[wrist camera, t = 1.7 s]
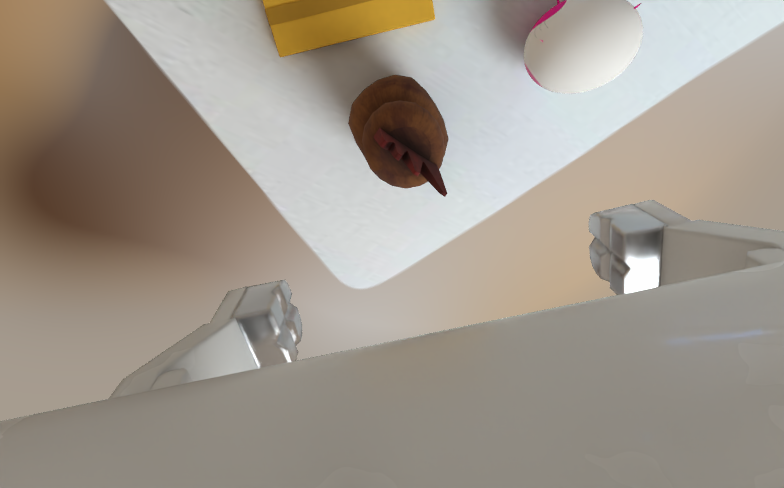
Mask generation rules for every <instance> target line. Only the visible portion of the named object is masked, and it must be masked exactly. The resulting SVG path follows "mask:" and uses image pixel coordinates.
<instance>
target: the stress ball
mask: <svg viewBox="0 0 784 488" xmlns="http://www.w3.org/2000/svg"><path fill="white" fill-rule="evenodd" d="M640 4H641V3H640ZM640 4H639V5H640ZM639 5H637V6H636V7H634V6H633V5H632V4H631V3H629V2H628V1H627V0H565V1H563V2H561V3H559V0H557V5H556V6H554V7H553V8H551V9H550V10H549V11H547V12H546V13H545V14H544V15H543V16H542V17H541V18H540V19H539V20H538V21H537V23H536V24H535V25H534V27H533V28H532V30H531V31H530V33H529V35H528V38H527V40H526V43H525V48H524V63H525V67H526V70H527V72H528V74H529V75H530V77H531V78H532V79H533V80H534V81H535V82H536V83H537V84H538V85H540V86H541V87H543V88H545V89H547V90H549V91H552V92H556V93H563V94H574V93H582V92H587V91H590V90H593V89H596V88H598V87H601V86H603V85H605V84H607V83H608V82H610V81H612V80H613V79H614V78H616V77H617V76H618V75H620V74H621V73H622V72H623V71H624V70H625V69H626V68H627V67H628V66H629V65H630V63H631V62H632V61H633V59H634V58H635V56H636V54H637V52H638V50H639V48H640V45H641V42H642V36H643V25H642V21H641V18H640V15H639V13H638V12H637V10H636V8H637V7H638V6H639Z"/></svg>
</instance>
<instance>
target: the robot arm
mask: <svg viewBox="0 0 784 488" xmlns="http://www.w3.org/2000/svg"><path fill="white" fill-rule="evenodd" d="M589 231H590V232H591V233H592V234H593V235H594V236H595V238H594V240H593V241H592V243H591V244H590V246H589V249H590V259H591V262H592V266H593V268H594V270H595V272H596V274H597V275H598V276H599V277H600V278H601V279H603V280H606V281H609V282H610V288H611V289H612V290H613V291H614V292H615V293H616V294H617V295H616V296H610V297H606V298H601V299H596V300H591V301H586V302H581V303H577V304H571V305H567V306H562V307H557V308H552V309H547V310H542V311H537V312H532V313H527V314H522V315H517V316H513V317H508V318H503V319H498V320H493V321H488V322H483V323H479V324H473V325H468V326H464V327H459V328H454V329H449V330H444V331H439V332H435V333H429V334H424V335H419V336H415V337H410V338H405V339H400V340H395V341H390V342H385V343H380V344H375V345H370V346H365V347H361V348H356V349H351V350H346V351H341V352H336V353H331V354H326V355H321V356H316V357H312V358H307V359H302V360H297V361H296V359H297V355H298V350H297V348H296V345H297V344H298V343H299V342H300V341H301V337H302V323H301V318H300V314H299V312H298V309H297V307H295V306H294V305H293V304H291V303H290V299H291V295H292V293H291V290H290V288H289V285H288V283H287V282H286V281H285V280H280V281H275V282H270V283H265V284H260V285H255V286H250V287H243V288H239V289H235V290H231V291H228V293H227V294H226V296H225V298H224V300H223V301H222V303H221V305H220V306H219V308H218V310H217V311H216V313H215V315H214V316H213V318H212V320H211V322H210V323H208V324H204V325H202V326H201V327H199V328H198V329H196V330H195V331H193V332H192V333H190V334H189V335H187V336H186V337H185V338H183V339H182V340H180V341H179V342H177V343H176V344H174V345H173V346H171V347H170V348H168V349H167V350H165V351H164V352H162V353H161V354H160V355H158V356H157V357H155V358H154V359H152V360H151V361H149V362H148V363H146V364H145V365H143V366H142V367H140V368H139V369H137V370H136V371H134V372H133V373H132V374H130V375H129V376H127V377H126V378H124V379H123V380H122V381H121V383H120V384H119V385H118V387H117V388H116V389H115V391H114V392H113V393H112V395H111V396H110V398H109V399H107V400H102V401H97V402H92V403H87V404H82V405H78V406H72V407H67V408H63V409H58V410H53V411H48V412H43V413H38V414H33V415H29V416H24V417H19V418H14V419H9V420H4V421H0V488H784V231H778V230H771V229H763V228H756V227H748V226H741V225H733V224H726V223H718V222H711V221H703V220H696V221H691V220H689V219H687V218H686V217H683V216H682V215H680V214H678V213H676V212H675V211H673V210H671V209H669V208H667V207H665V206H664V205H662V204H660V203H658V202H656V201H654V200H648V201H644V202H640V203H637V204H630V205H625V206H622V207H618V208H613V209H609V210H604V211H600V212H596V213H593V214H592V215H590V219H589Z"/></svg>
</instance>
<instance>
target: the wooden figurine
mask: <svg viewBox="0 0 784 488" xmlns="http://www.w3.org/2000/svg"><path fill="white" fill-rule="evenodd" d="M348 124H349V126H350V129H351V131H352V134H353V136H354V139H355V141H356V143H357V145H358V147H359V148H360V150H361V152H362V153H363V155H364V157H365V158H366V160H367V162H368V164H369V166H370V168H371V170H372V171H373V172H374V173H375V174H376V175H377V176H378V177H379V178H380V179H381V180H383V181H385V182H387V183H388V184H390V185H392V186H396V187H401V188H411V187H416V186H421V185H422V184H424V183H426V182H429V183H430V184H431V185H432V186H433V187H434V188H435V189H436V190H437V191H438V192H439V193H440V194H441V195H443V196H444V197H445V196H446V194H447V191H446V188H445V186H444V183H443V180H442V177H441V174H440V171H439V168H440V167H441V165H442V161H443V157H444V155H445V151H446V146H447V142H448V135H447V131H446V128H445V124H444V120H443V118H442V116H441V114H440V112H439V110H438V108H437V106H436V104H435V103H434V102H433V100H432V99H431V97H430V96H429V94H428V93H427V92H426V90H425V89H424V88H423V87H421V86H420V85H419V84H418V83H417V82H416V81H415V80H414V79H413V78H411V77H405V76H399V75H392V76H389V77H385V78H382V79H379V80H377V81H375V82H374V83H373V84H371V85H370V86H369V87H367V88H366V89H364V90H363V92H362V93H361V94H360V95H359V96H358V97H357V99H356V100H355V101H354V102H353V104H352V107H351V112H350V117H349V123H348Z"/></svg>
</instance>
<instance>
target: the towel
mask: <svg viewBox="0 0 784 488" xmlns="http://www.w3.org/2000/svg"><path fill="white" fill-rule="evenodd" d="M263 4H264V7H265V12H266V15H267V18H268V22H269V25H270V27H271V30H272V33H273V36H274V40H275V43H276V46H277V49H278V53H279V56H280V57H284V56H288V55H292V54H296V53H300V52H304V51H308V50H312V49H317V48H321V47H325V46H329V45H333V44H337V43H341V42H345V41H349V40H353V39H357V38H362V37H366V36H370V35H374V34H378V33H382V32H386V31H390V30H394V29H398V28H402V27H407V26H411V25H415V24H419V23H423V22H427V21H431V20H434V19H435V15H434V8H433V2H432V0H263Z"/></svg>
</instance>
